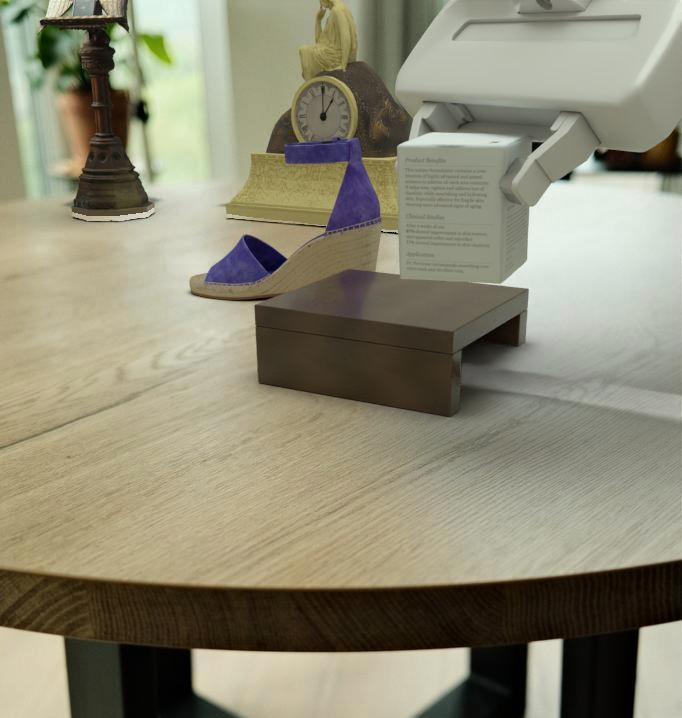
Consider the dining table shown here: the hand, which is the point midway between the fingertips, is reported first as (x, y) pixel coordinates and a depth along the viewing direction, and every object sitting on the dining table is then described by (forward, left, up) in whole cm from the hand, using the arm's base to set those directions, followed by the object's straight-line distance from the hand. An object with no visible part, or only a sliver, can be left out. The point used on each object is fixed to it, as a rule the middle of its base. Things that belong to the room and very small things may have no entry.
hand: (456, 187), depth 56 cm
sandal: (+33, -32, -16) cm, 48 cm away
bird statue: (+81, -61, -16) cm, 102 cm away
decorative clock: (+52, -74, -16) cm, 91 cm away
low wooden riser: (+11, -14, -16) cm, 24 cm away
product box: (0, -1, -5) cm, 5 cm away
